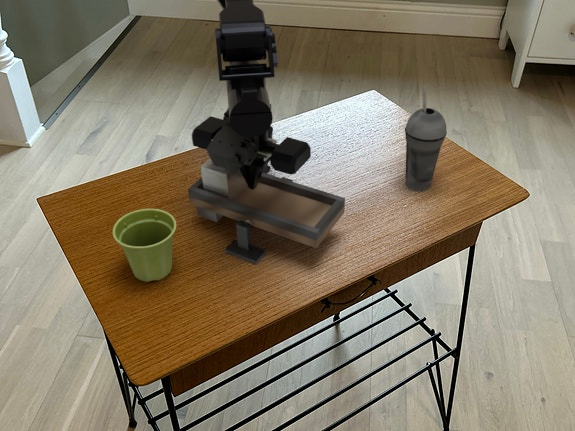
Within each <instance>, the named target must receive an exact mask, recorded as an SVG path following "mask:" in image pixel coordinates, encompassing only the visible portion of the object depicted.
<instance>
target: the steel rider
mask: <svg viewBox="0 0 575 431" xmlns="http://www.w3.org/2000/svg"><path fill="white" fill-rule="evenodd" d="M200 171H201V177H202V181H203V189H204V190H205V191H208V192H210V193H213V194H216V195H219V196H222V197H225V198H228V199H231V200H235V199H236V198H237V197H238V196H239V195H240V194H241V193H242V192H243V191H244V190H245V189H246V188H247V187H248V185H247V183H246V181H245V179H244V177H243V175H242V173H241V171H240V170H237V171H230V170H228V169H225V168H222V167H217V166H214V165H213V163H212V161H211V159H210V158H209V159H207V160H206V161H205V162H204V163H203V164H202V165H200Z"/></svg>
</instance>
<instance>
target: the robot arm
mask: <svg viewBox="0 0 575 431" xmlns="http://www.w3.org/2000/svg"><path fill="white" fill-rule="evenodd" d="M216 1H217V3H218V4H219V6H220V8H221V9H222V10H221V11H220V12H219V13H218V17H219V18H218V19H219V20H218V21H219V28H215V29H214V32H215V34H214V35H215V44H216V54H217V56H216V58H217V66H218V67H217V68H218V79H219V80H218V81H219V82H221V81H222V82H223V81H225V82H226V83H225V84H226V96H227V103H228V104H227V106H228V107H227V109H226V110H225V112H224V113H223V117H222V118H218V117H215V116H211V115H210V116H209V117H208V118H206V119H205V120H203V121H202V122H201V123H199V125H197V126H196V127H195V128H193V130H192V133H191V140H192V146H194V147H196V148H199V149H203V150H206V152H207V154H208V157H209V159H211V161H212V163H213V165H214V166H217V167H222V168H225V169H228V170H230V171H237V170H240V171H241V173H242V175H243V177H244V179H245V181H246V183H247V185H248V187H249V189H252V190H254V189H255V188H256V186H257V184H258V182H259V179H260V177H261V175H262V172H263V173H266V174H268V172H269V171H270V170H271V168H272V169H273V170H275V171H277V172H280V173H284V174H287V175H295V174H296V173H297V172H298V171H299V170H300V169H301V168H302V167H303V166H304V165H305V164H306V163H307V162H308V160H310V159H311V157H312V156H311V155H312V152H311V151H312V150H311V146H310V144H309V143H308V142H307V141H304V140H300V139H296V138H292V137H289V136H286V138H284V140H282V141H281V142H280V143H278V141H277V139H273V134H274V133H273V132H274V129H273V128H274V127H273V126H272V123H273V119H274V118H273V112H272V111H273V110H272V103H271V102H270V97H269V93H268V90H267V84H266V81H267V80H266V79H267V78H269V79H270V78H275V68H278V55H277V44H276V42H277V41H276V34H275V33H274V32H273V28H272V27H271V26H270V25H269V24H266V20H265V14H264V11H263V10H262V9H261V8H260V7H258V6H256V5H255V3H254V0H216ZM264 60H267V62H268V64H267V63H260V62H259V61H264ZM222 61H223V62H224V63H229V65H225V66H224V69H223V62H222ZM269 164H270V165H269Z"/></svg>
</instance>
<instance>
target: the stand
mask: <svg viewBox="0 0 575 431" xmlns="http://www.w3.org/2000/svg"><path fill="white" fill-rule="evenodd" d="M281 178H282V179H285V180H288V181H292V182H294V180H293V179H290V178H287V177H284V176H282V177H281ZM235 226H236V238H234V239H233V240H232V241H231V242H230V243H229V244H228V245H227V246H226V247H225V249H224V252H225V254H228V255H230V256H232V257H235V258H238V259H240V260H242V261H243V260H244V261H246V262H248V263H250V264H253V265H255V266H257V265H258V264H259V262H261V260H262V259H263V258H264V257H265V255H267V250H266V249H265V248H261V247H259V246H256V245H253V237H252V236H253V235H252V233H253V232H252V225H251V224H250V223H247V222H244V221H241V220H240V221H237V223H235Z"/></svg>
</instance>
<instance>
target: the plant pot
mask: <svg viewBox="0 0 575 431" xmlns="http://www.w3.org/2000/svg"><path fill="white" fill-rule="evenodd" d="M176 230H177V222H176V218H175V217H174V216H173V215H172V214H171V213H169V212H168V211H166V210H163V209H159V208H142V209H136V210H134V211H130V212H129V213H126V214H124V215H123V216H121V217H120V218H119V219H118V220H117V221H116V222H115V224H114V225H113V228H112V236H113V238H114V240H115V242H116V243H117V244H118V245H119V246H120V247H121V249H123V253H124V255H125V257H126V259H127V261H128V265H129V267H130V268H131V271H132V273H133V275H134V278H137V279H138V281H142V282H147V283H149V282H152V281H161V280H163V279H164V278H167V276H168V275H169V274H170V273H171V271H172V268H173V240H174V236H175V235H174V234H175V232H176Z"/></svg>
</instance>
